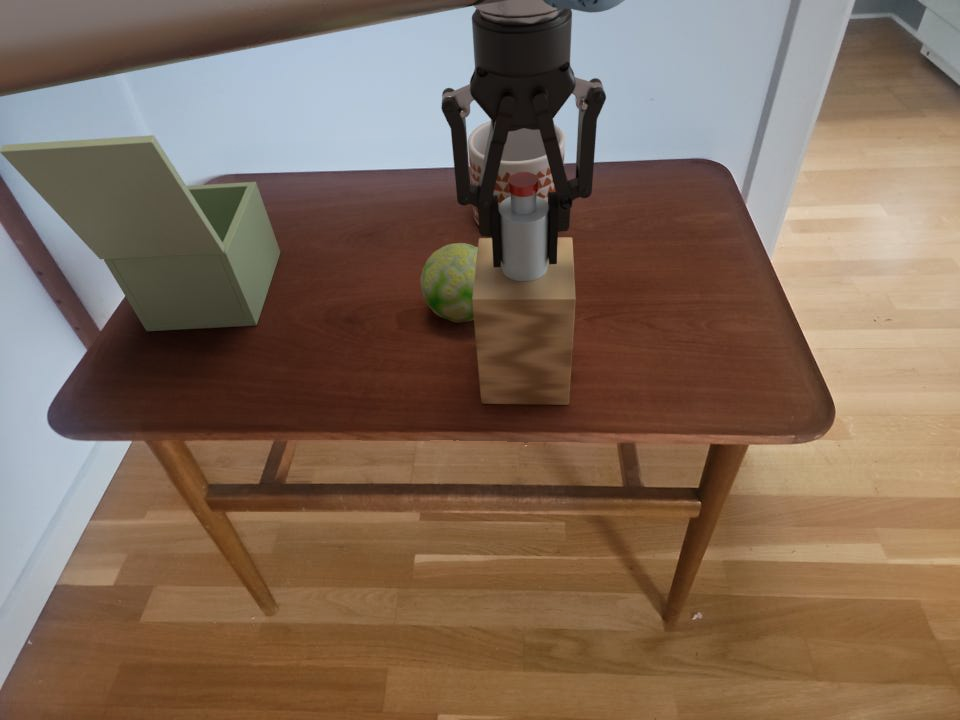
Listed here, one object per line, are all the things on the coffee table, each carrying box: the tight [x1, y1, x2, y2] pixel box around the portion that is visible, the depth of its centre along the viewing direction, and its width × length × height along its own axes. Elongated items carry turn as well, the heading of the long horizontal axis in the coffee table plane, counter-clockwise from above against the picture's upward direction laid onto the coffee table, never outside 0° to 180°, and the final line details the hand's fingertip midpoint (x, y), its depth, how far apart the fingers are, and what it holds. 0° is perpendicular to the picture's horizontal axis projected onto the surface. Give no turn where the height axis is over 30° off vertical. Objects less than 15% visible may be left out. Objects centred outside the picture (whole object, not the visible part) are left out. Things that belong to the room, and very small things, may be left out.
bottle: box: [498, 172, 549, 282], centre depth 62 cm, size 5×5×10 cm
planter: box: [467, 120, 566, 227], centre depth 95 cm, size 14×14×13 cm
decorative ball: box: [419, 242, 478, 323], centre depth 82 cm, size 10×10×10 cm
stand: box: [472, 236, 577, 406], centre depth 71 cm, size 10×10×16 cm
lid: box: [0, 134, 225, 260], centre depth 70 cm, size 17×15×1 cm
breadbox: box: [103, 181, 281, 332], centre depth 87 cm, size 16×15×12 cm
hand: (524, 257), depth 65 cm, fingers closed on bottle, 5 cm apart
